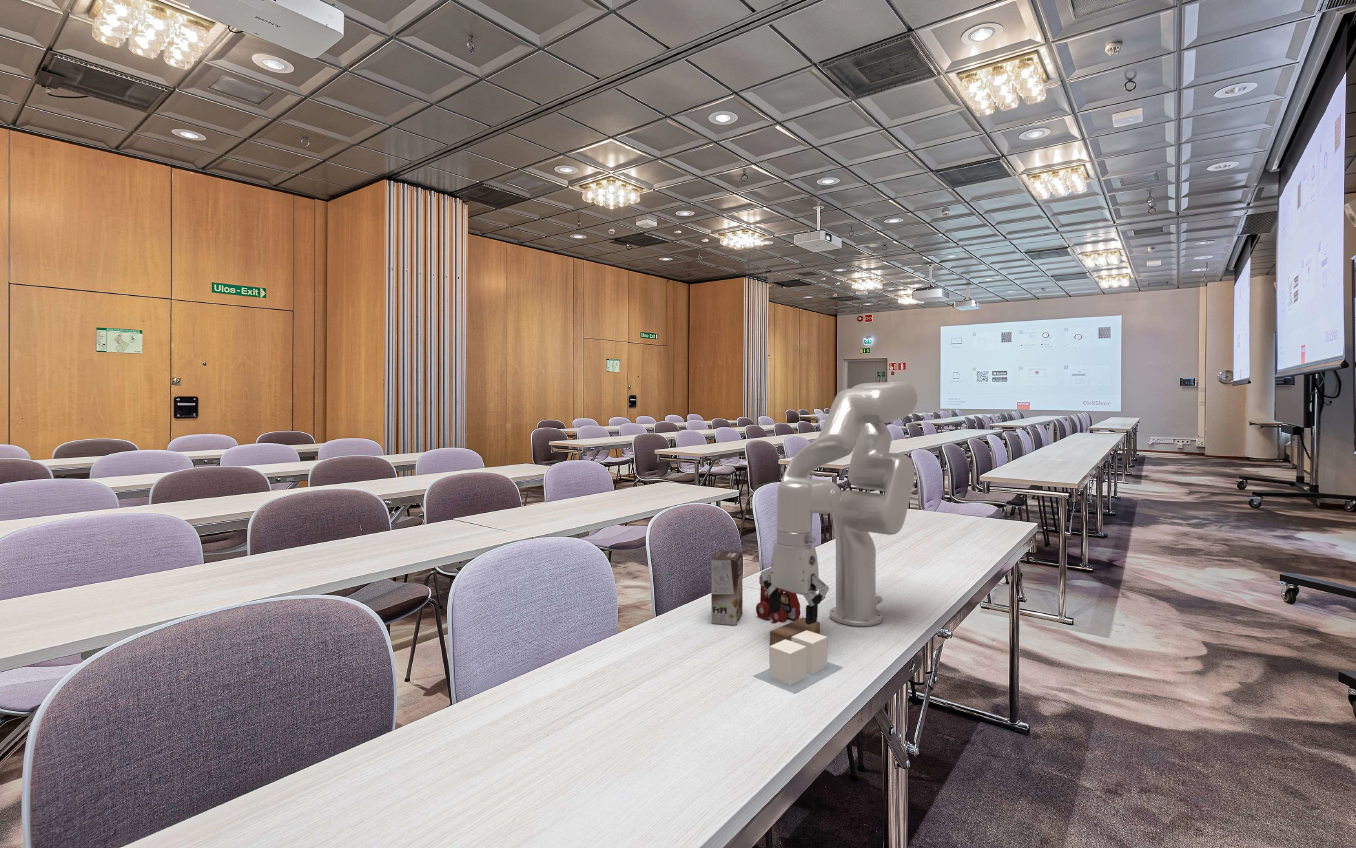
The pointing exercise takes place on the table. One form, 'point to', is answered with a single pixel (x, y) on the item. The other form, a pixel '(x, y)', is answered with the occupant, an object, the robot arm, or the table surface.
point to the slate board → (802, 683)
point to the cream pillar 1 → (787, 662)
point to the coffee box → (726, 587)
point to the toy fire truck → (788, 605)
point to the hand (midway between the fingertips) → (792, 617)
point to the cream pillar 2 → (813, 650)
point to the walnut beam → (792, 630)
